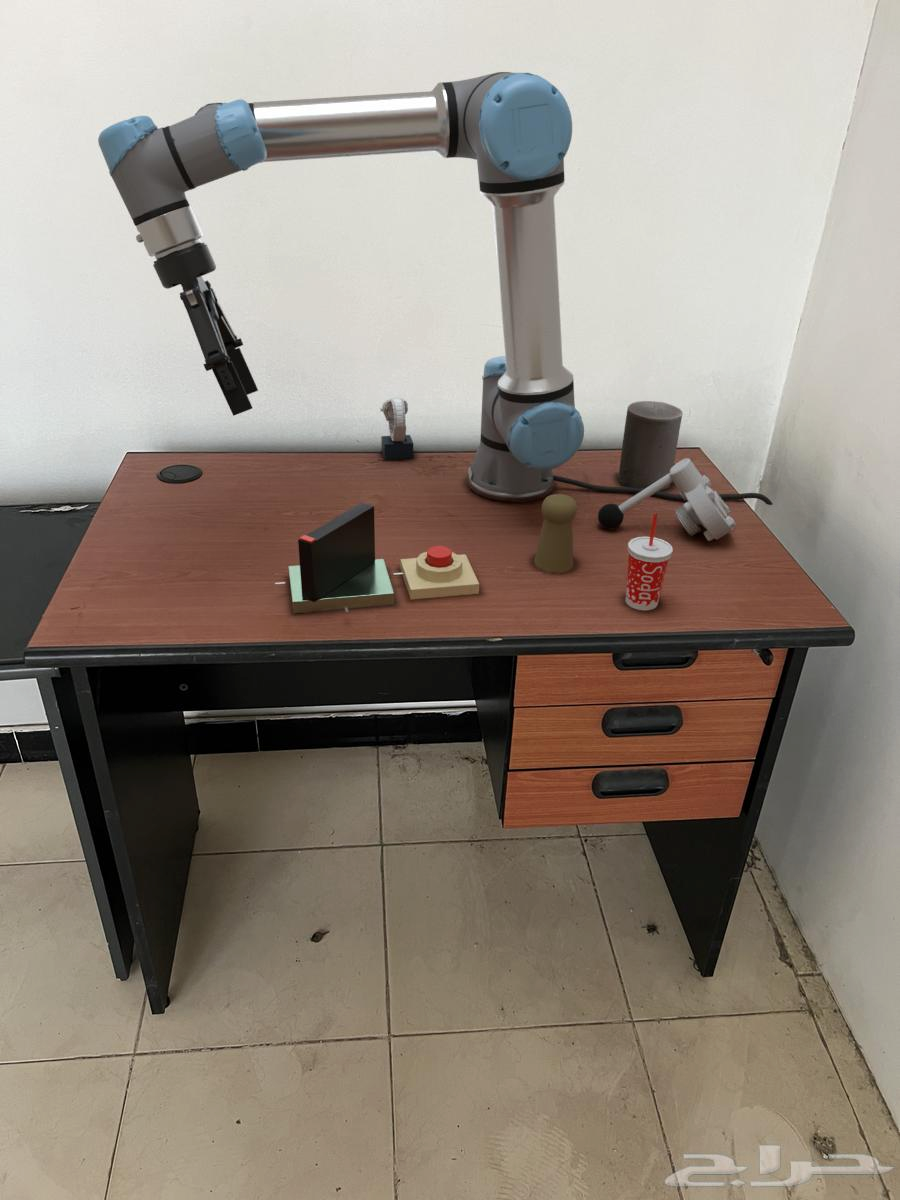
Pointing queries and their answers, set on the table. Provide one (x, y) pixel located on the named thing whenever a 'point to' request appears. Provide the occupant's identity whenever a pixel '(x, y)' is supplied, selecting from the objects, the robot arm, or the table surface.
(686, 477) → the mechanical valve
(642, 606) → the beverage cup
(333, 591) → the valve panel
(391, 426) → the watch
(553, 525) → the olive pawn
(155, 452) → the table surface
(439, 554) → the red push button
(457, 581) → the button box
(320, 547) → the black panel
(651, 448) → the pillar candle
